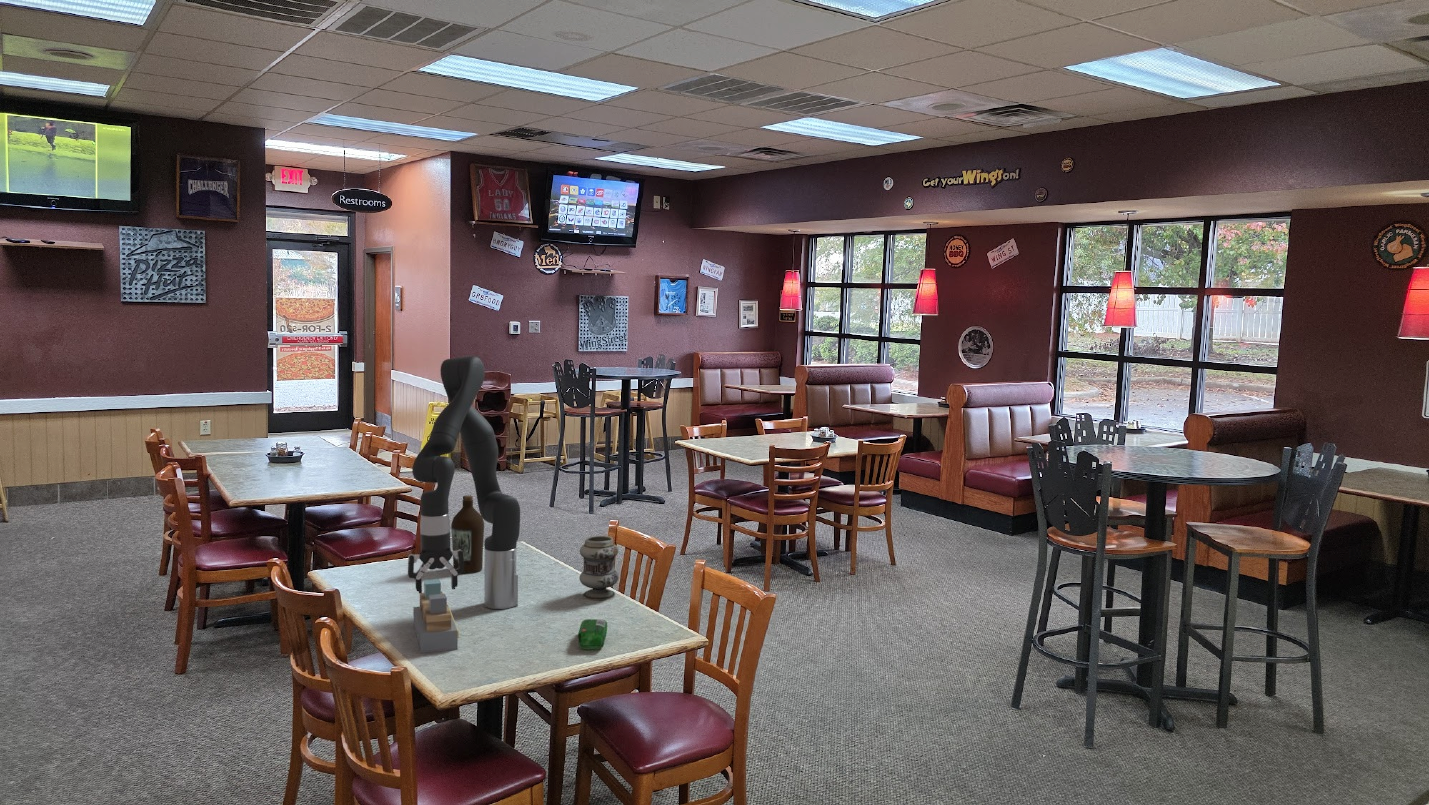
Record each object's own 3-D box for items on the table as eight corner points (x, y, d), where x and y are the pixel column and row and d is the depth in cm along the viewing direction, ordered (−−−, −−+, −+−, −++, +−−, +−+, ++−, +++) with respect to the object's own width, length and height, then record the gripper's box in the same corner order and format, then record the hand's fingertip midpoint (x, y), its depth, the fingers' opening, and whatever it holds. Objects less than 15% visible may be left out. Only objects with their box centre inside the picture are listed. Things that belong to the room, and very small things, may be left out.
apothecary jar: (593, 587, 302) (594, 531, 300) (626, 593, 297) (626, 536, 295) (571, 597, 291) (571, 539, 290) (604, 604, 286) (604, 545, 284)
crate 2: (444, 608, 250) (444, 593, 250) (446, 613, 246) (446, 598, 246) (429, 610, 248) (428, 595, 248) (430, 614, 245) (430, 599, 244)
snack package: (608, 633, 261) (608, 614, 261) (603, 653, 246) (603, 633, 245) (582, 633, 261) (582, 614, 260) (576, 653, 245) (576, 633, 245)
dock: (448, 621, 267) (448, 604, 266) (458, 649, 246) (458, 630, 245) (413, 624, 263) (413, 607, 263) (421, 653, 242) (421, 634, 242)
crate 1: (439, 593, 263) (439, 579, 262) (440, 597, 259) (440, 583, 259) (424, 594, 261) (424, 580, 261) (425, 598, 258) (425, 584, 257)
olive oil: (462, 564, 326) (462, 492, 323) (490, 567, 323) (490, 494, 320) (445, 572, 315) (444, 497, 313) (473, 575, 313) (473, 500, 310)
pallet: (419, 607, 263) (419, 593, 262) (442, 605, 265) (442, 591, 265) (427, 632, 243) (426, 616, 243) (451, 629, 246) (451, 614, 245)
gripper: (460, 525, 258) (462, 583, 259) (405, 529, 252) (407, 589, 254) (465, 531, 251) (466, 591, 253) (408, 536, 245) (410, 597, 247)
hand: (436, 590), depth 253 cm, fingers open, 8 cm apart
